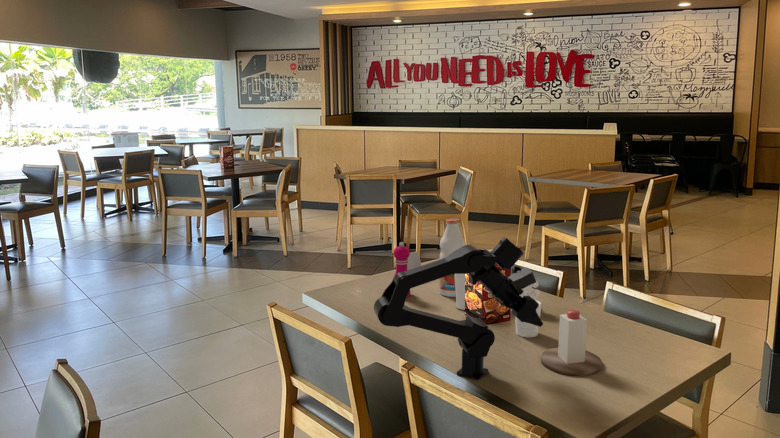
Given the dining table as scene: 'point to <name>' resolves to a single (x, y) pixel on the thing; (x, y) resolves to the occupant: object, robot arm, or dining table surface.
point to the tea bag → (413, 261)
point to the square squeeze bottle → (572, 337)
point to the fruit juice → (448, 245)
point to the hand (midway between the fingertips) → (534, 319)
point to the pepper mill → (401, 259)
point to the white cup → (527, 326)
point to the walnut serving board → (574, 369)
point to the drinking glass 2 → (460, 290)
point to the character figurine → (529, 289)
